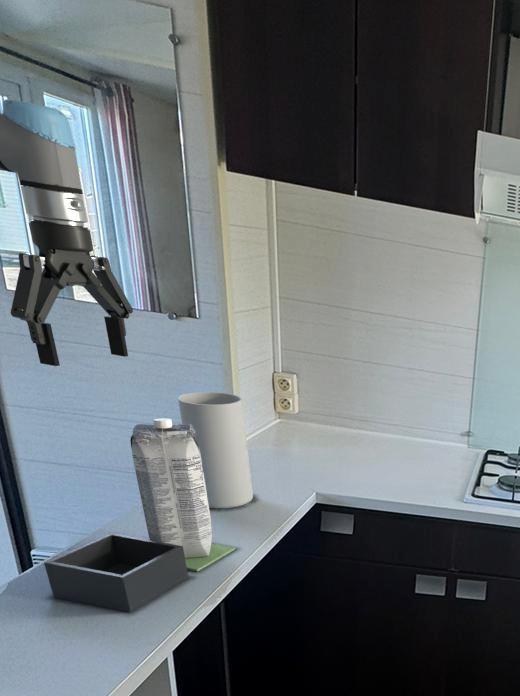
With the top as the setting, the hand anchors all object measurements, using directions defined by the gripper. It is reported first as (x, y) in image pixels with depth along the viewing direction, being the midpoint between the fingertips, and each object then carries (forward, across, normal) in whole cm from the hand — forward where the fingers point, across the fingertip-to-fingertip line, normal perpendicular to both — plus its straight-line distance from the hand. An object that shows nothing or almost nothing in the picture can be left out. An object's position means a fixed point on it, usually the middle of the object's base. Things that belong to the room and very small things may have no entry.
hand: (86, 359), depth 108 cm
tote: (+38, -10, -8) cm, 40 cm away
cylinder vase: (+38, +33, +3) cm, 51 cm away
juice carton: (+38, +5, -9) cm, 39 cm away
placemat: (+38, +5, -9) cm, 39 cm away
